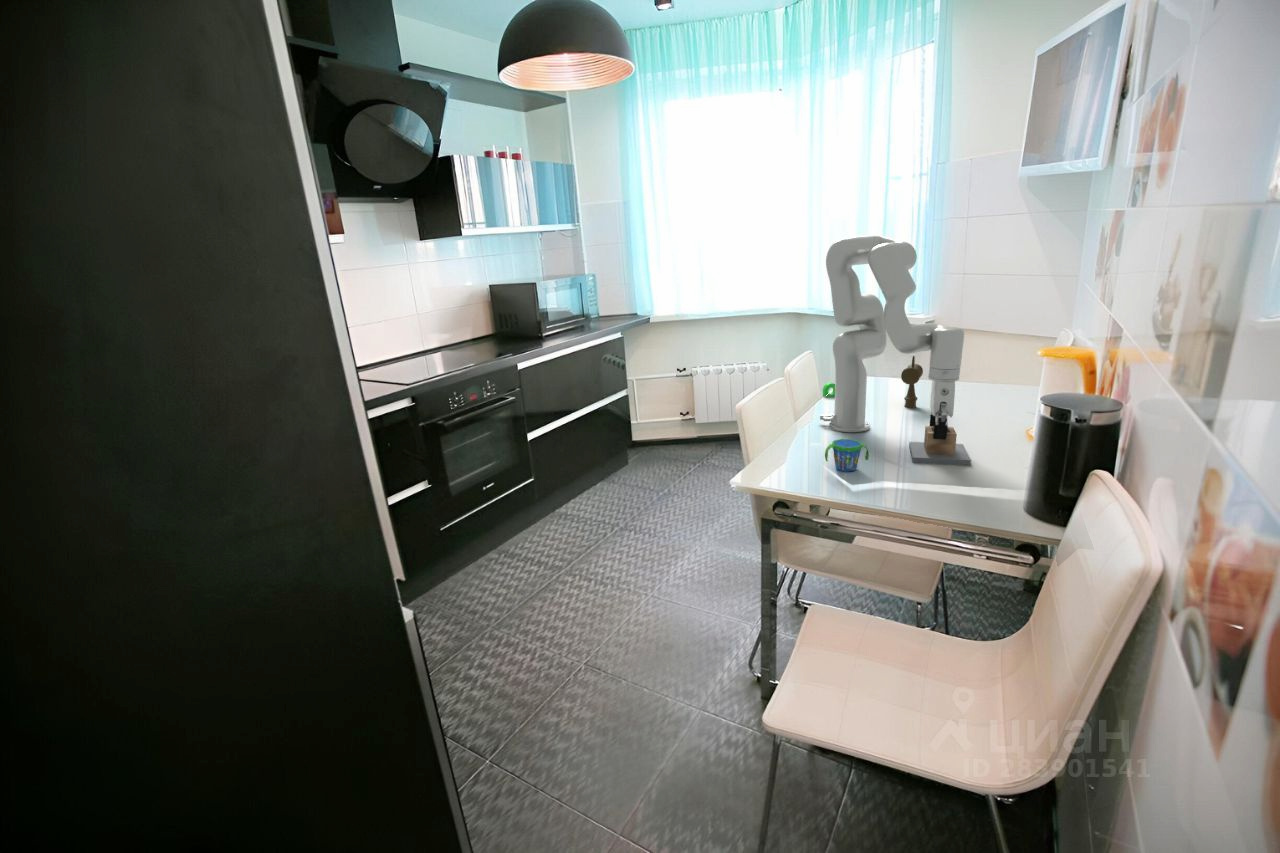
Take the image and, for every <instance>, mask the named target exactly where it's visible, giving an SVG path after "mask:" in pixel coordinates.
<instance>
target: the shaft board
mask: <svg viewBox="0 0 1280 853" xmlns="http://www.w3.org/2000/svg"><path fill="white" fill-rule="evenodd" d="M908 448H909V453H910V457H911V461H912V463H915V464H932V465H933V464H934V465H936V464H937V465H950V466H953V465H954V466H971V464H972V459H971V457H970V455H969V453H968V452H967V450H966V448H965V445H964V443H956V448H955V455H940V454H926V451H925V448H924V441H908Z"/></svg>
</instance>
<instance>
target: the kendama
mask: <svg viewBox="0 0 1280 853" xmlns="http://www.w3.org/2000/svg"><path fill="white" fill-rule="evenodd" d="M915 357H916V356H915V355H913V356H912V359H911V364H910V365H908V366H907V367H906V368H904V369H903V370H902V372H901V375H900V377H901V378H900V379H901V381H902V382H903V383H904V384H906V385H908V389H907V393H906V396H905V397H904V398H903V399H904V401H905V402H904V408H906V409H916V408H917V401H918V397H917V396H916V389H915V385H916V384H917V383H918V382H919V381H920V379H921V377H922V376H923V375H924V374H923V373H924V369H923V367H922V366H921V365H920V364H918V363H916V362H915V360H916V358H915Z"/></svg>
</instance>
